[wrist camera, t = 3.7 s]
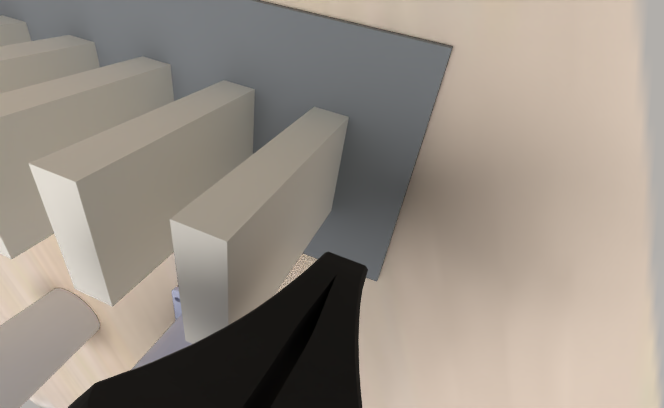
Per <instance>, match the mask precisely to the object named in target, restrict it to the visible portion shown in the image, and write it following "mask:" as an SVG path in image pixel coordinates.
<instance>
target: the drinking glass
mask: <svg viewBox="0 0 664 408" xmlns="http://www.w3.org/2000/svg"><path fill="white" fill-rule="evenodd" d="M99 327H100V323H99V321H98V318H97V316H96V315H95V313H94V312H93V311H92V309H91V308H90V307H89V306H88V305H87V304H86V303H85V302H84V301H83V300H82V299H80V298H79V297H77V296H76V295H74V294H73V293H71V292H69V291H67V290H64V289H62V288H55V289H54V290H52V291H51V292H49V293H48V294H46V295H45V296H43V297H42V298H40V299H39V300H37V301H36V302H34V303H33V304H31V305H30V306H28V307H27V308H25V309H24V310H23V311H21V312H20V313H18V314H17V315H15V316H14V317H12V318H11V319H9V320H8V321H6V322H5V323H3V324H2V325H0V408H20V407H21V406H22V405H23V404H24V403H25V402H26V401H27V400H28V399H29V398H30V397H31V396H32V395H33V394H34V393H35V392H36V391H37V390H38V389H39V388H40V387H41V386H42V385H43V384H44V383H45V382H46V381H47V380H48V379H49V378H50V377H51V376H52V375H53V374H54V373H55V372H56V371H57V370H58V369H59V368H60V367H61V366H62V365H63V364H64V363H65V362H66V361H67V360H68V359H69V358H70V357H71V356H72V355H73V354H74V353H76V352H77V351H78V350H79V349H80V348H81V347H82V346H83V345H84V344H85V343H86V342H87V341H88V340H89V339H90V338H91V337H92V336H93V335H94V334H95V333H96V332H97V331H98V330H99Z"/></svg>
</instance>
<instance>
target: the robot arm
mask: <svg viewBox="0 0 664 408" xmlns="http://www.w3.org/2000/svg"><path fill="white" fill-rule="evenodd" d="M367 272H368V269H367V267H366V266H365V265H363V264H360V263H357V262H355V261H352V260H349V259H347V258H344V257H342V256H339V255H336V254H334V253H331V252H326V253H324V254H323V255H322V256H321V257H320V258H319V259H318V260H317V261H316V262H315V263H314V264H313V265H311V266H310V267H309V268H308V269H307V270H306V271H305V272H303V273H302V274H301V275H300V276H299V277H298V278H296V279H295V280H294V281H292V282H291V283H290V284H289V285H287V286H286V287H285V288H284V289H282V290H281V291H280V292H278V293H277V294H276V295H274V296H273V297H271V298H270V299H268V300H267V301H266V302H264V303H263V304H261V305H260V306H258V307H257V308H256V309H254V310H252V311H251V312H249V313H248V314H246V315H245V316H243V317H241V318H240V319H238V320H236V321H235V322H233V323H231V324H230V325H228V326H226V327H224V328H223V329H221V330H219V331H217V332H215V333H213V334H211V335H209V336H207V337H206V338H204V339H202V340H200V341H198V342H196V343H194V344H191V343H189V342H187V341H186V340H185V333H184V325H183V317H182V310H181V302H180V294H179V287H175V288H174V289H173V290H172V297H173V304H174V311H175V318H176V321H175V322H174V323H173V324H172V325H171V326H170V327H169V328H168V330H167V331H166V332H165V333H164V334H163V335H162V336H161V337H160V338H159V339H158V341H157V342H156V343H155V344H154V345H153V346H152V347H151V348H150V349H149V351H148V352H147V353H146V354H145V355H144V356H143V357H142V358H141V359H140V360H139V362H138V363H137V364H136V365H135V366H134V367H133V368H132V369H131V370H130V371H127V372H124V373H122V374H119V375H116V376H113V377H111V378H108V379H105V380H102V381H99V382H97V383H95V384H94V385H93V386H91V387H90V388H89V389H88V390H87V391H86V392H85V393H83V394H82V395H81V396H80V397H79V398H77V399H76V400H75V401H74V402H73V403H72V404H71V405H70V406H69V407H68V408H362V399H361V389H360V375H359V345H358V337H359V314H360V302H361V295H362V289H363V285H364V282H365V279H366V275H367Z"/></svg>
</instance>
